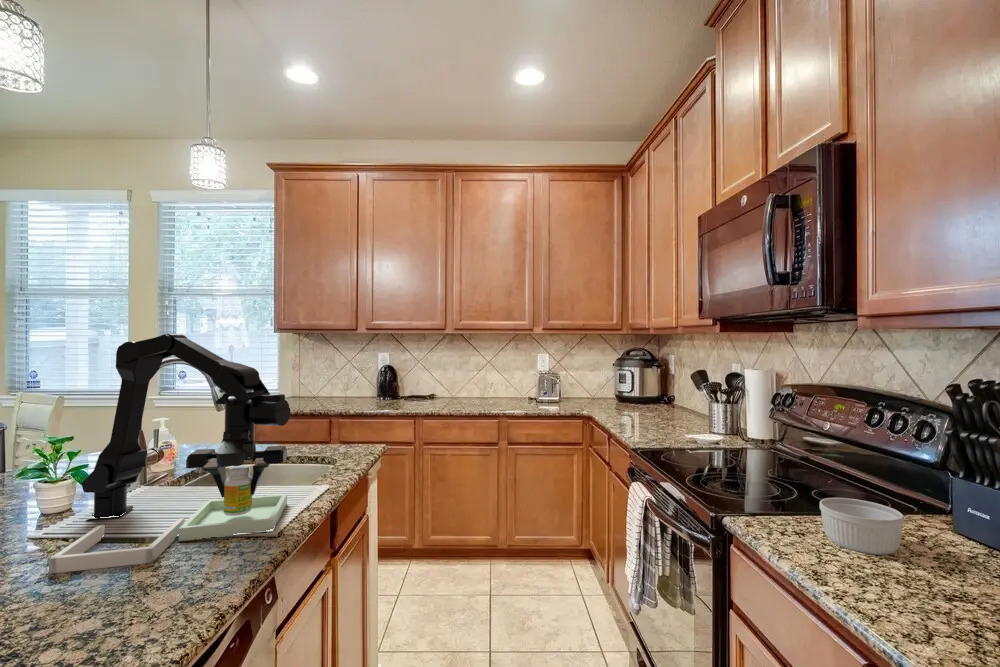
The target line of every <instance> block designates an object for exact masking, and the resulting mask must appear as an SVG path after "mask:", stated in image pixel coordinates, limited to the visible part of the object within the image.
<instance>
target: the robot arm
mask: <svg viewBox="0 0 1000 667" xmlns="http://www.w3.org/2000/svg"><path fill="white" fill-rule="evenodd" d="M173 356H174V357H175V358H177V359H179V360H181V361H183V362H184V363H186V364H188V365H190V366H192V367H193V368H195V369H197V370H199V371H200V372H202V373H204V374H205V375H207V376H208V377H210V378H211V380H212V383H213V384H214V385H215V386H216V387H217V388H218V389H220V390H221V391H222V392H223V394H222V395H221V396H220V397H219V398H217V400H216V401H215V402H214V403H215V404H216V405H224V431H223V434H222V440H221V443H220V444H219V445H218V448H217V449H215V448H209V449H208V448H206V449H205V448H203V449H195V450H194V451H193V452H192V453H190V454H189V455H188V456H187V457H186V459H185V468H186V469H200V468H201V469H202V472H208V473H209V474H210V475H211V476H212V478H213V479H214V481H215V484H216V486H217V488H218V491H219V494H220V497H221V498H224V482H225V480H226V479H227V476H226V475H227V473H226V471H227V470H226V467H233V466H240V465H243V464H244V462H245V461H255V462H256V463H255V464H254V465H253V466H252V472H253V473H252V486H251V495H252V496H254V494H255V493H256V490H257V487H258V484H259V483H260V480H261V477H262V475H263V472H264V470H265V468H269V467H270V465H272V464H273V465H275V464H281V463H284V462H285V460H286V459H287V457H288V449H287V447H286V446H285V445H273V446H272V445H269V446H267V447H266V448H265V449H264V450H257V448H256V447H257V445H256V441H255V430H256V428H255V427H256V426H270V427H273V426H274V427H276V426H277V427H278V426H279V427H283V426H285V425H286V424H287V423H288V421H289V419H290V417H291V416H290V415H291V407H290V404H289V402H288V401H287V400H286V395H285V394H283V393H281V394H280V393H278V394H271V393H270V392H269V390H268V388H267V387H266V385H265V384H264V383H263V381H262V379H261V377H260V372H259V371H258V370H257V369H256V368H254V367H252V366H249V365H247V364H242V363H239V362H234V361H231V360H227V359H224V358H223V357H222V356H220V355H218V354H216V353H215V352H212V351H210V350H209V349H208V348H205V347H204V346H201V345H200V344H198V343H196V342H194V341H193V340H191V339H189V338H188V337H187V335H184V334H182V333H164V334H161V335H158V336H156V337H151V338H147V339H143V340H139V341H138V340H137V341H125V342H123V343H122V344H121V345H119V346H118V347H117V349H116V352H115V369H116V370H117V372H118V374H119V376H120V379H121V382H120V383H121V384H120V389H119V394H118V398H117V403H116V410H115V415H114V418H113V419H114V420H113V426H112V429H111V436H110V440H109V443H107V445H106V446H105V447H104V448H103V450H102V451H101V452H100V453H99V455H98V458H97V460H96V463H95V466H94V468H93V471H91V472H90V474H89V475H88V476H87V477H85V479H84V480H83V481H82V482H81V488H82V491H83V493H89V494H90V493H91V494H92V493H93V494H94V495H93V513H94V515H93V513H91V514H92V516H94V517H95V518H100V517H109V516H113V515H114V516H120V515H122V514H123V513H125V512H127V511H128V510H130V509H131V510H133V509H134V505H128V506H127V504H128V503H127V501H128V500H127V499H128V498H127V495H128V492H127V491H128V485H130V484H132V483H133V484H134V483H136V482H137V480H138V478H139V475H140V474H141V473H142V471H143V468H145V467H146V458H147V455H148V450H147V449H143V448H142V447H141V445H140V444H139V437H140V432H141V427H142V420H143V417H144V410H145V404H146V400H147V395H148V389H149V384H150V381H151V380H152V378H154V376H155V375H156V374H157V373H158V372H159V371H160V368H161V366H162V362H163V360H165V359H167V358H171V357H173ZM255 425H256V426H255ZM132 508H133V509H132ZM131 510H130V511H131ZM128 512H129V511H128ZM128 512H127V513H128ZM125 514H126V513H125Z"/></svg>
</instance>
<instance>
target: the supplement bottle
mask: <svg viewBox="0 0 1000 667" xmlns="http://www.w3.org/2000/svg"><path fill="white" fill-rule="evenodd" d="M249 473H250V466H249V465H245V464H244V465H243V464H242V465H240V466H229V467H228V471H227V475H228V477H226V480H225V482H224V497H223V499H224V514H225V515H227V516H237V515H242V514H246V513H248V512H250V511H251V509H252V497H253V495H251V486H252V478H253V476H251V475H249Z"/></svg>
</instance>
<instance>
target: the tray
mask: <svg viewBox="0 0 1000 667" xmlns="http://www.w3.org/2000/svg"><path fill="white" fill-rule="evenodd" d="M287 505H288V494H287V493H285V494H274V495H273V494H272V495H271V494H270V495H261V496H259V495H258V496H252V509H251V511H250V512H248V513H246V514H242V515H237V516H227V515H225V514H224V498H222V499H210V500H206V501H205V502H204V503H203V504H202V505H201V506H200V507H199V508H198V509H196V510H195V512H194V513H193V514H192V515H191V516H190V517H189V518H188V519H187V520H186V521H185V522H184V524H183V525H182V526H181V527H180V528H179V536H178V542H183V541H184V542H185V541H194V540H195V539H196V540H203V539H202V538H206V539H212V538H211V537H217V538H226V537H225V536H227V537H232V536H231V535H233V534H237V533H244V532H255V531H266V530H270V529H273V528H274V526H275V525H276V523H277V522H278V523H279V521H280V519H281V517H282V515H283V514H284V512H285V510H286V507H287ZM278 520H279V521H278ZM278 523H277V524H278ZM276 526H277V525H276Z"/></svg>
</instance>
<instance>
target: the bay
mask: <svg viewBox="0 0 1000 667" xmlns="http://www.w3.org/2000/svg"><path fill="white" fill-rule="evenodd" d="M185 522H186V521H185V517H183V518H182V517H181V518H180V517H179V518H178V519H176V521H174V523H172V524H171V525H170V526H169V527H168V528H167V529H166V530H165V531H164V532H163V533H162V534H160V535H159V536H158V537H157V538H156V539H155V540H154V541H153V542H151V544H150V545H149V546H144V547H143V546H142V547H134V548H133V547H132V548H123V549H122V548H121V549H113V550H103V551H91V552H86V551H88V550H90V549H91V548H92V547H94V546H95V545H96V544H97V543H99V542H100V541H102V540H101V537H102V536H103V535H104V536H105V528H106V527H105V524H100V525H99V524H98V525H97V526H95V527H94V528H92V529H91V530H90V531H88V532H87V533H85V534H84V535H82V536H81V537H80V538H78V539H76V540H75V541H73V542H72V543H70V544H68V546H66V547H65V548H63V549H61V550H59V552H57V553H56V554H54V555H53V556H51V557H50V558H48V574H59V573H68V572H78V571H79V572H80V571H87V570H97V569H103V568H104V569H105V568H114V567H116V568H117V567H124V566H133V565H140V564H141V565H143V564H151V563H153V562H155V560H156V559H157V558H159V557H160V555H161V554H163V552H165V550H166V549H168V548H169V546H170V545H171V544H172V543H173V542H174V541H175V540H176V539H177V538H176V536H177V535H178V534H179V528H180V527H181V526H182V525H183V524H184V523H185ZM175 538H176V539H175Z"/></svg>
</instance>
